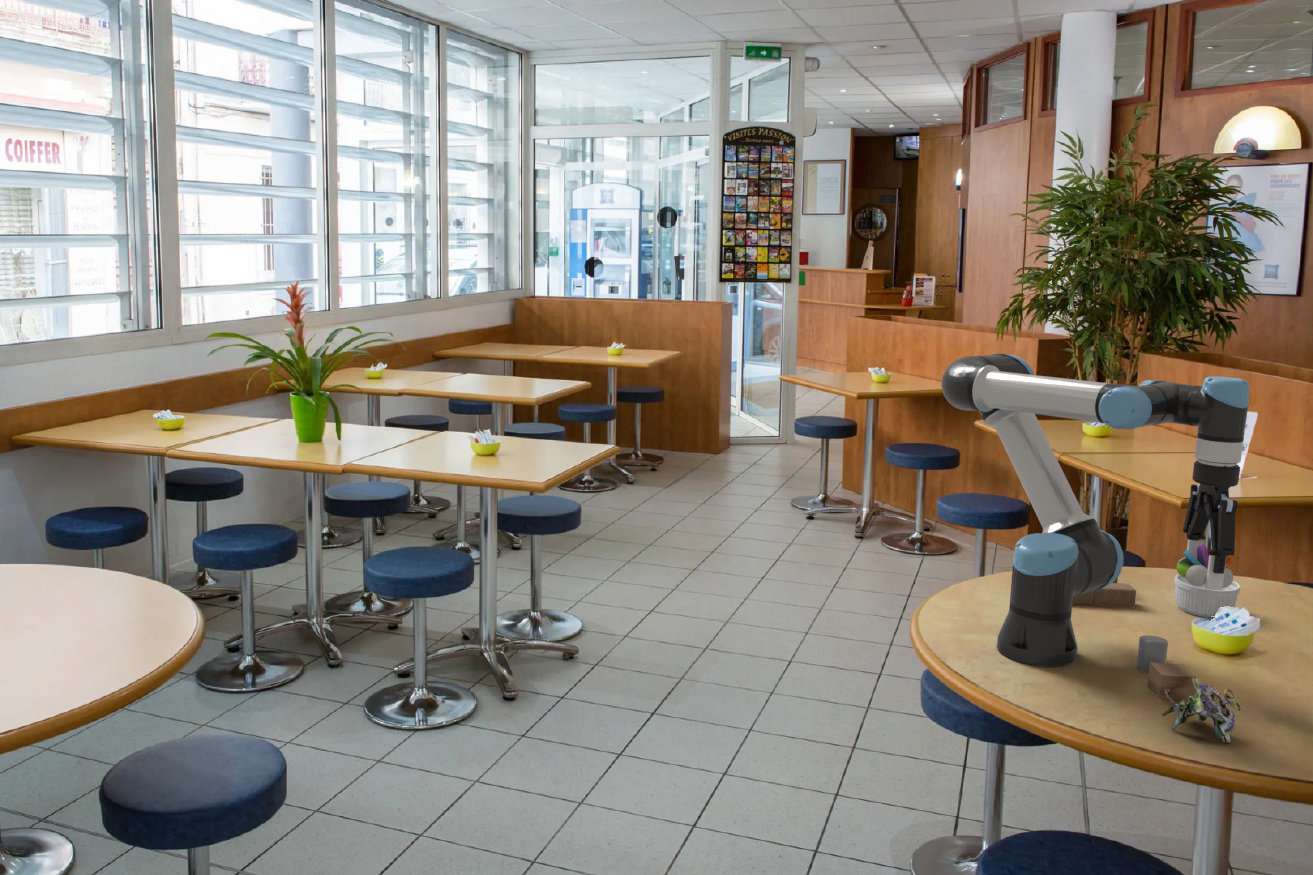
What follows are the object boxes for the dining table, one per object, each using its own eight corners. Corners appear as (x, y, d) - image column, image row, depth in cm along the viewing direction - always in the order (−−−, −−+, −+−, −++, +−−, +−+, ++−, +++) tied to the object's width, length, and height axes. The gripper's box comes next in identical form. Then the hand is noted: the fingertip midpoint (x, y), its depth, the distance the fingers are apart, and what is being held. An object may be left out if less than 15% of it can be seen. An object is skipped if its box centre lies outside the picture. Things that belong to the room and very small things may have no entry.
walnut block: (1158, 701, 191) (1161, 674, 190) (1147, 687, 197) (1149, 662, 196) (1193, 703, 191) (1196, 677, 190) (1180, 689, 197) (1183, 664, 196)
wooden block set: (1141, 586, 241) (1060, 582, 242) (1138, 610, 242) (1057, 606, 243) (1115, 564, 257) (1039, 560, 259) (1112, 586, 258) (1037, 583, 260)
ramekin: (1246, 622, 234) (1249, 592, 233) (1182, 618, 236) (1185, 588, 235) (1224, 603, 247) (1227, 574, 245) (1164, 599, 249) (1167, 570, 247)
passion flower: (1219, 771, 177) (1245, 736, 168) (1150, 747, 180) (1172, 712, 171) (1225, 715, 184) (1250, 678, 175) (1158, 693, 187) (1179, 656, 178)
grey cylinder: (1141, 673, 203) (1145, 644, 202) (1132, 663, 208) (1135, 634, 207) (1168, 675, 203) (1172, 645, 202) (1158, 665, 208) (1161, 636, 207)
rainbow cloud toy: (1239, 592, 193) (1244, 553, 192) (1182, 587, 195) (1187, 549, 193) (1223, 578, 201) (1228, 541, 200) (1169, 573, 203) (1173, 536, 202)
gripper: (1267, 475, 183) (1250, 600, 187) (1212, 451, 204) (1198, 565, 208) (1222, 473, 184) (1206, 598, 188) (1172, 450, 205) (1159, 563, 209)
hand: (1202, 581), depth 198 cm, fingers closed on rainbow cloud toy, 9 cm apart
